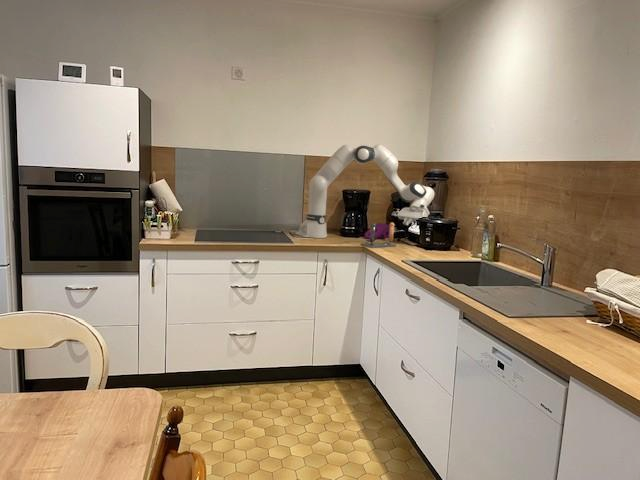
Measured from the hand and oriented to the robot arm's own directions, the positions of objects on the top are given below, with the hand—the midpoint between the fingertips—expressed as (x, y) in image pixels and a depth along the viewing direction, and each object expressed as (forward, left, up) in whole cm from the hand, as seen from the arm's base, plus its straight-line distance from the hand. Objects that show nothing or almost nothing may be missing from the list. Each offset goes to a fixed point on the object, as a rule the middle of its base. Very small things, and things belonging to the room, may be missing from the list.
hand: (405, 224), depth 291 cm
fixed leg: (-1, -27, -11) cm, 29 cm away
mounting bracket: (-26, +1, -13) cm, 29 cm away
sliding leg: (-1, -12, -11) cm, 16 cm away
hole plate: (-1, -21, -12) cm, 24 cm away
